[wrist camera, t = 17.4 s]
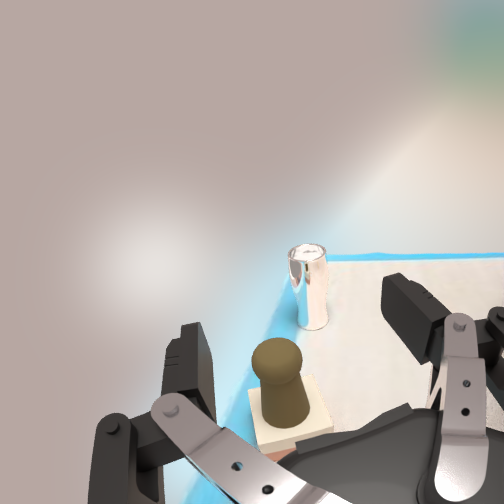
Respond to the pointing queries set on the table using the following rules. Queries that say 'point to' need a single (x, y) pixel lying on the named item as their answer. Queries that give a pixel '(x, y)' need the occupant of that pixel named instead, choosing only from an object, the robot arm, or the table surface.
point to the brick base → (283, 440)
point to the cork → (281, 383)
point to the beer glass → (309, 284)
